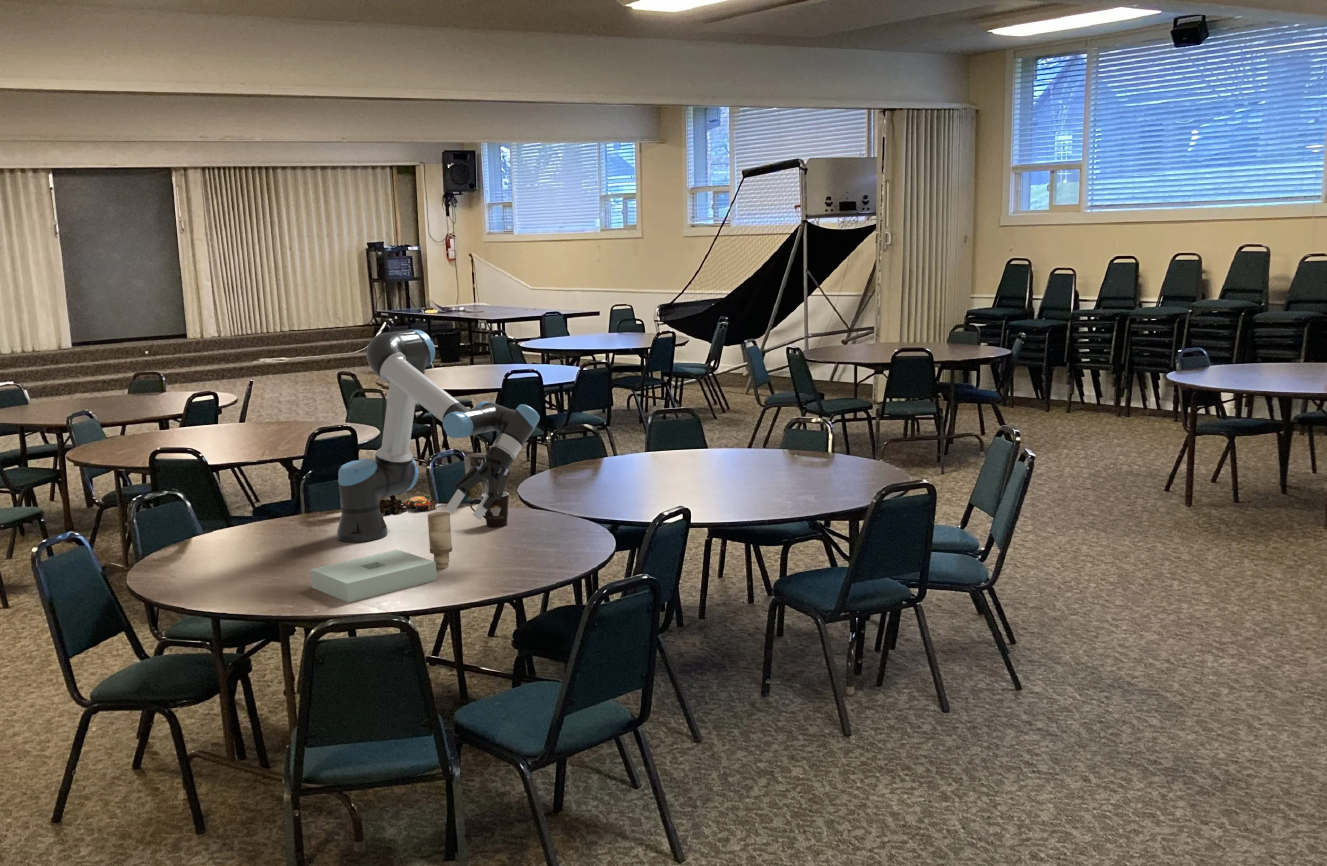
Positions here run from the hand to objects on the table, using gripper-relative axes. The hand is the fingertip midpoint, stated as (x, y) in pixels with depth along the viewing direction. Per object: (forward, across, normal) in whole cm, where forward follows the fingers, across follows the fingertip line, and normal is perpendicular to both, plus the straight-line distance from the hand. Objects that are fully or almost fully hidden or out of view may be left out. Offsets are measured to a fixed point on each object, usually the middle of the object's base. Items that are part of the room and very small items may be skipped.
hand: (462, 514), depth 324 cm
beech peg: (+15, +1, -5) cm, 16 cm away
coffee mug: (-12, +31, -32) cm, 46 cm away
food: (-8, +75, -29) cm, 81 cm away
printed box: (-26, +66, -46) cm, 85 cm away
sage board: (+30, +1, +10) cm, 31 cm away
